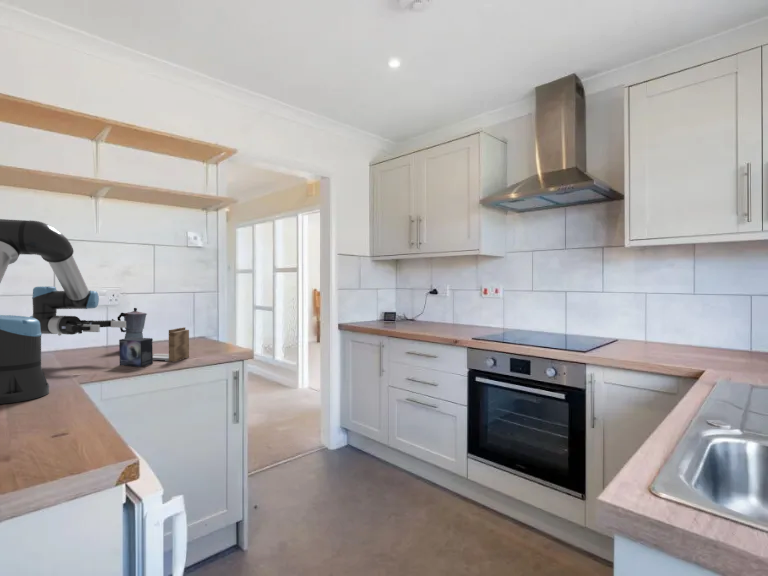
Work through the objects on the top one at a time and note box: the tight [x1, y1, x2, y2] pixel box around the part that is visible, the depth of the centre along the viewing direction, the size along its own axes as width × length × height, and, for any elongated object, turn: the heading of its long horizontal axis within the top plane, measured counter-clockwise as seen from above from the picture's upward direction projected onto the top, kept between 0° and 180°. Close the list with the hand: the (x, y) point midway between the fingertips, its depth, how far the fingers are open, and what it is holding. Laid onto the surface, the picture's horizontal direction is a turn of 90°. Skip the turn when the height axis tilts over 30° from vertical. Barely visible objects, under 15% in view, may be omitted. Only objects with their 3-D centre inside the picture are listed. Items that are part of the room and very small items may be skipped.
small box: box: [118, 337, 154, 368], centre depth 163 cm, size 11×6×10 cm, turn 76°
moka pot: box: [116, 307, 148, 339], centre depth 201 cm, size 10×15×20 cm, turn 164°
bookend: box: [153, 326, 190, 363], centre depth 176 cm, size 10×16×13 cm, turn 82°
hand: (112, 326), depth 165 cm, fingers open, 13 cm apart
